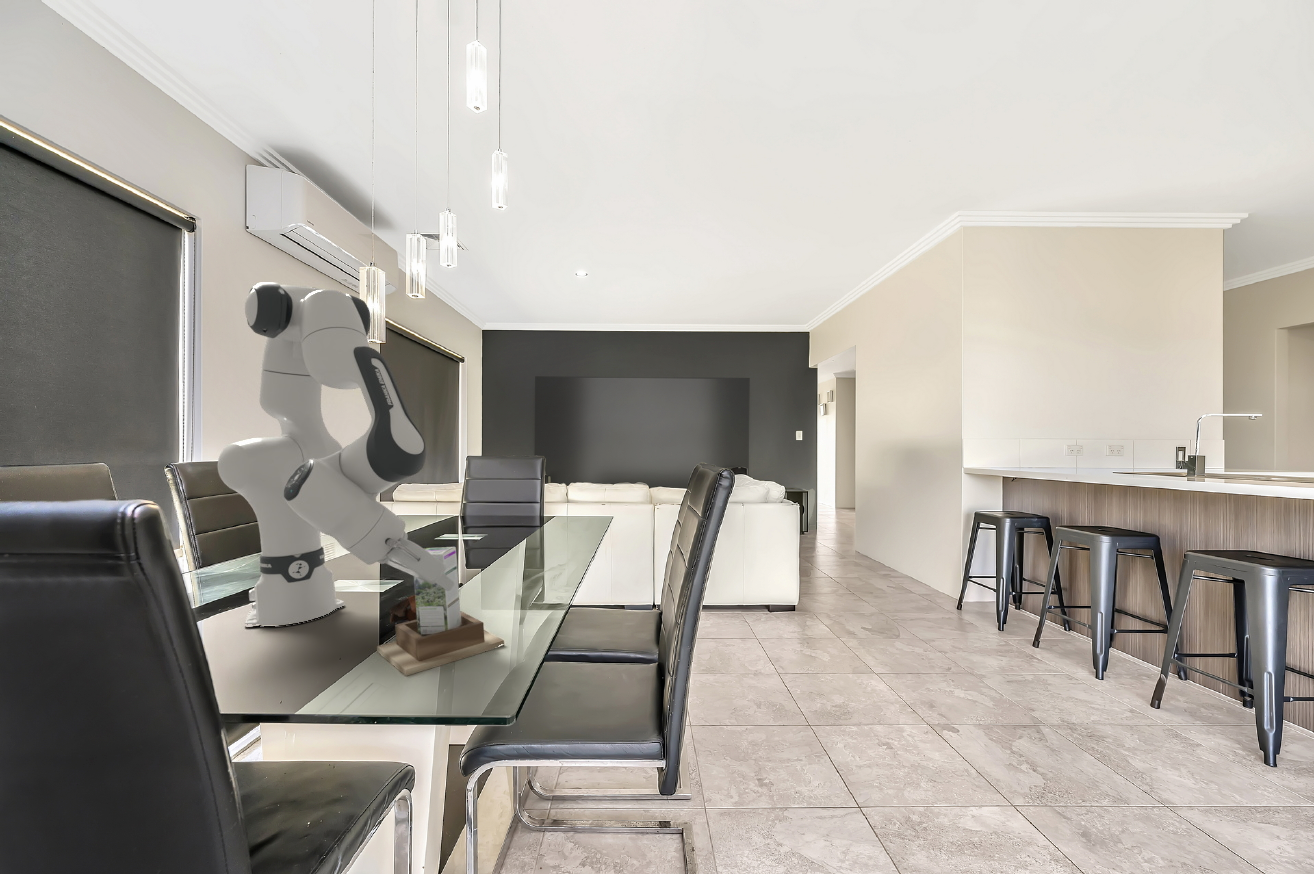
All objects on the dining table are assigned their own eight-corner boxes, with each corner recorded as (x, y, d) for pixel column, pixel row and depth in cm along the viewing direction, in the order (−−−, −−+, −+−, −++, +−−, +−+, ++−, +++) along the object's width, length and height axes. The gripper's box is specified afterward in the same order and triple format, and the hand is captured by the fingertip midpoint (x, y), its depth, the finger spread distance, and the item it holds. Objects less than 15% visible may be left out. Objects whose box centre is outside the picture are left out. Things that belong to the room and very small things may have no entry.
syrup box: (462, 624, 111) (457, 545, 111) (448, 636, 105) (442, 552, 105) (432, 625, 112) (426, 546, 111) (416, 637, 106) (410, 553, 105)
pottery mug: (404, 646, 112) (385, 605, 114) (400, 654, 120) (382, 616, 122) (465, 614, 119) (447, 577, 121) (458, 624, 127) (440, 588, 128)
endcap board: (377, 651, 109) (375, 626, 109) (469, 626, 120) (467, 603, 120) (405, 676, 97) (403, 648, 97) (504, 645, 108) (502, 620, 108)
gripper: (412, 527, 95) (476, 576, 102) (373, 516, 111) (430, 559, 118) (384, 561, 93) (452, 609, 99) (348, 545, 108) (408, 587, 115)
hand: (440, 582), depth 109 cm, fingers closed on syrup box, 8 cm apart
